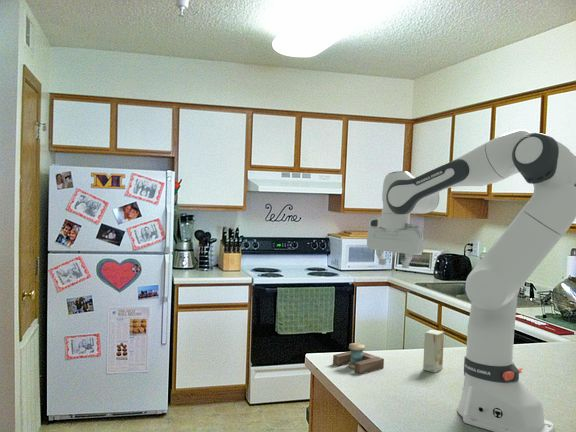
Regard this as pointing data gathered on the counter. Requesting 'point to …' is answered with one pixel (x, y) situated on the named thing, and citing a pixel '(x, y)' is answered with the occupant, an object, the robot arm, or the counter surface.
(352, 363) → the thread spool
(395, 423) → the counter surface
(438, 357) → the skincare box
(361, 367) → the notched board
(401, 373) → the counter surface
